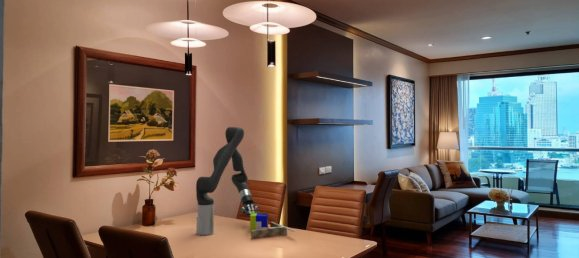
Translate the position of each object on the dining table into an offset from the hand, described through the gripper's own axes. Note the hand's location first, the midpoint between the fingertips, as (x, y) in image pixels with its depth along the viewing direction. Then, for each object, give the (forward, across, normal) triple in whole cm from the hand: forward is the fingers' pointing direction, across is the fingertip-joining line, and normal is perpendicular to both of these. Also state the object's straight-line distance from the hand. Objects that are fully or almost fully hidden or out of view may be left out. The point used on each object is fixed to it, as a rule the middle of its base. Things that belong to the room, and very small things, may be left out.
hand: (253, 220), depth 258 cm
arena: (+19, -1, -12) cm, 23 cm away
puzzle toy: (+9, 0, -2) cm, 10 cm away
